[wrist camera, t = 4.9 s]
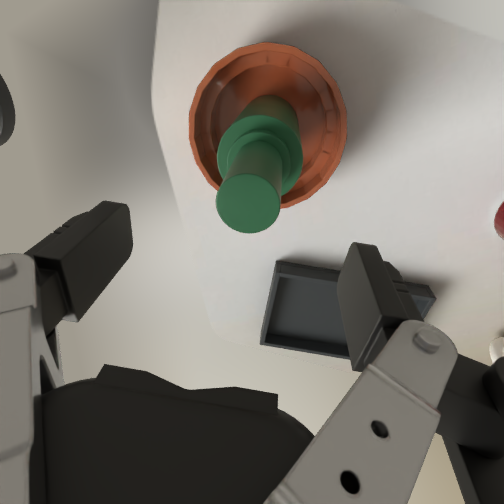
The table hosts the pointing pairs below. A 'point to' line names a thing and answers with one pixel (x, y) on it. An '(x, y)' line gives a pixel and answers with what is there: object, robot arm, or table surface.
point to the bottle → (258, 164)
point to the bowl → (279, 84)
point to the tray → (314, 310)
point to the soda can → (500, 221)
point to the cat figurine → (497, 348)
